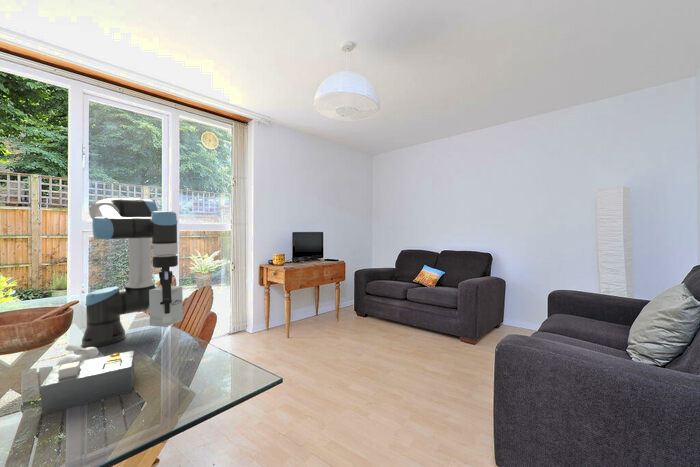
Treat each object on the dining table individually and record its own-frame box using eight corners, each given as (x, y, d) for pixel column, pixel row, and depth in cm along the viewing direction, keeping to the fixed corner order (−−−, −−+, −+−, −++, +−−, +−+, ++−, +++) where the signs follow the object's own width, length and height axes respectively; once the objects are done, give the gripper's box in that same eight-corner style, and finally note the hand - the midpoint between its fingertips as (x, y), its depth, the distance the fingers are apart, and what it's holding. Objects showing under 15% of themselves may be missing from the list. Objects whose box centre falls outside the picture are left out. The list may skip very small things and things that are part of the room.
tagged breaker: (105, 379, 94) (105, 364, 94) (121, 375, 96) (121, 360, 96) (104, 385, 91) (103, 369, 91) (120, 381, 93) (119, 365, 93)
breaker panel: (56, 391, 93) (54, 364, 92) (134, 373, 104) (133, 349, 104) (41, 414, 81) (40, 384, 81) (131, 391, 92) (131, 364, 92)
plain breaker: (62, 380, 88) (61, 364, 88) (80, 377, 91) (79, 361, 90) (59, 387, 85) (58, 370, 85) (77, 382, 87) (76, 366, 87)
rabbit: (101, 369, 106) (100, 337, 106) (84, 383, 97) (82, 347, 97) (62, 373, 104) (61, 339, 104) (40, 387, 95) (39, 351, 94)
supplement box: (167, 327, 100) (166, 290, 99) (149, 326, 101) (148, 289, 101) (183, 320, 107) (183, 285, 106) (166, 319, 108) (165, 285, 108)
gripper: (152, 253, 110) (154, 311, 111) (152, 259, 92) (153, 329, 92) (175, 252, 114) (177, 308, 115) (179, 257, 96) (181, 325, 97)
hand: (166, 318), depth 104 cm, fingers closed on supplement box, 10 cm apart
